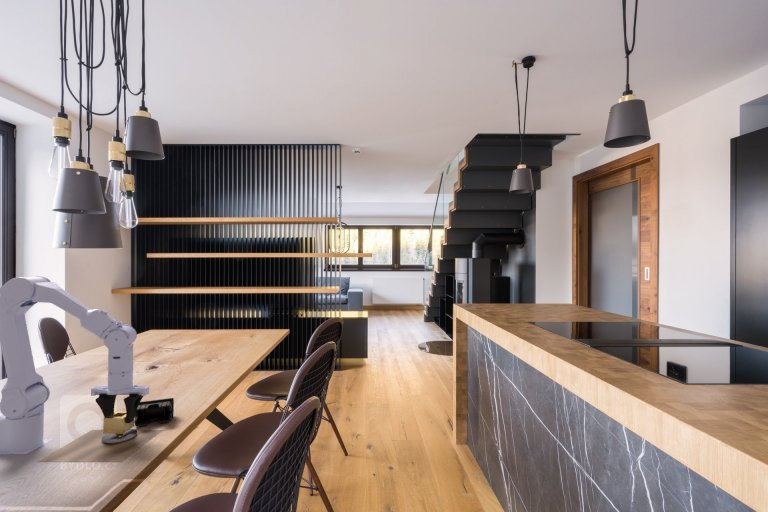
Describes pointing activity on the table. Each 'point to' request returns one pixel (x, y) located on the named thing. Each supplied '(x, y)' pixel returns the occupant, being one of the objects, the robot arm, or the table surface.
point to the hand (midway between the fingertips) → (119, 421)
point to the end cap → (154, 411)
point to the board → (99, 448)
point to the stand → (119, 437)
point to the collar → (116, 423)
